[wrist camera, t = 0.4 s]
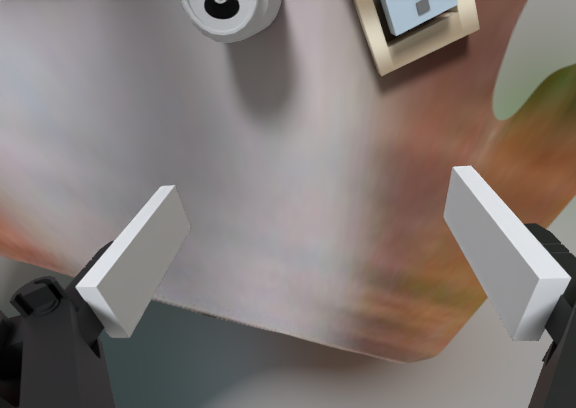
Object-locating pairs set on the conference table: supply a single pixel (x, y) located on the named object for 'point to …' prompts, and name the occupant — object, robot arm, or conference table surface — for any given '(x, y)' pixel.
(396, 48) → the frame
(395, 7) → the tile
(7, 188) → the conference table surface
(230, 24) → the can
